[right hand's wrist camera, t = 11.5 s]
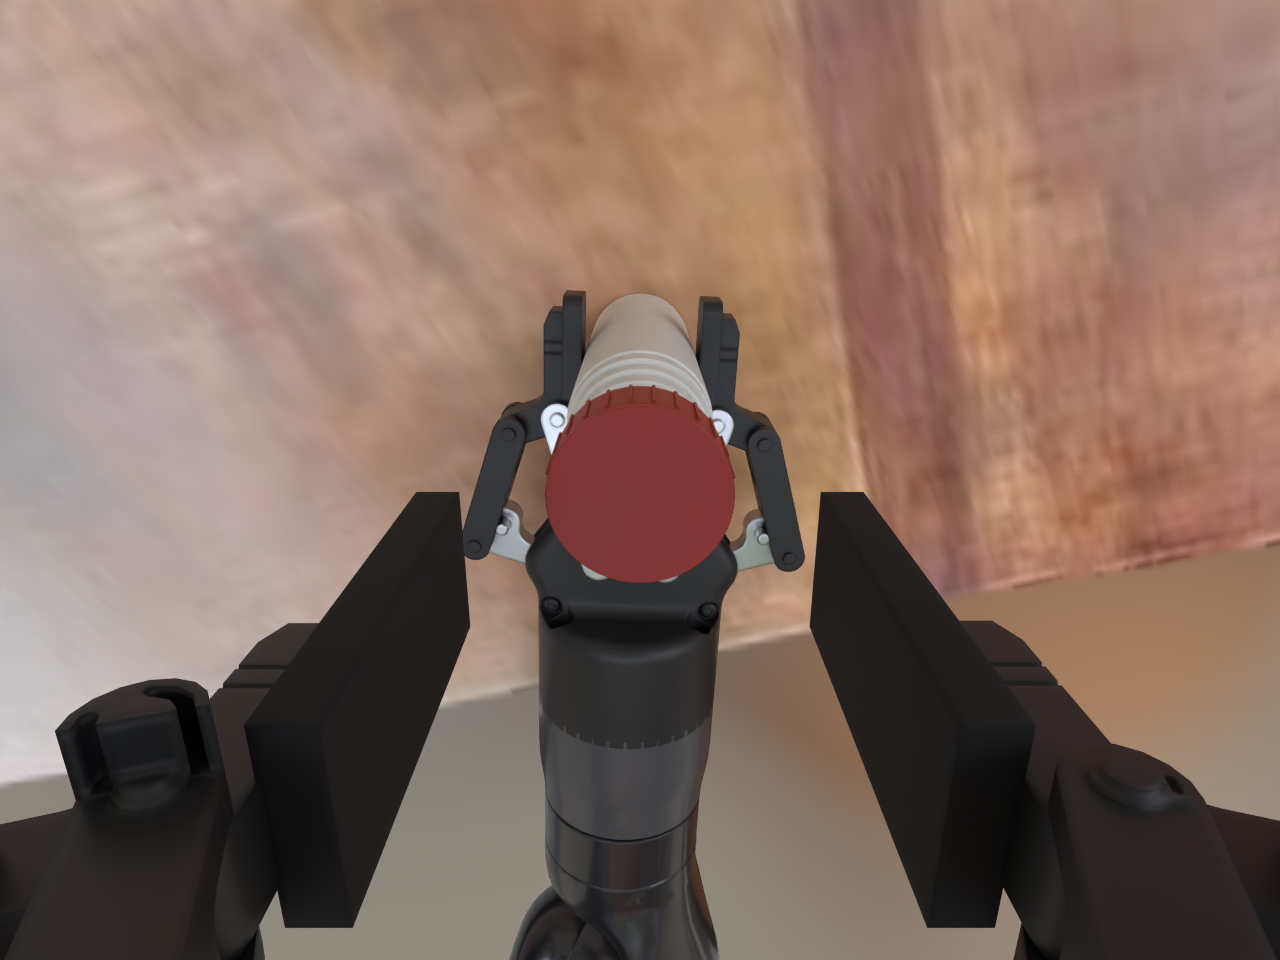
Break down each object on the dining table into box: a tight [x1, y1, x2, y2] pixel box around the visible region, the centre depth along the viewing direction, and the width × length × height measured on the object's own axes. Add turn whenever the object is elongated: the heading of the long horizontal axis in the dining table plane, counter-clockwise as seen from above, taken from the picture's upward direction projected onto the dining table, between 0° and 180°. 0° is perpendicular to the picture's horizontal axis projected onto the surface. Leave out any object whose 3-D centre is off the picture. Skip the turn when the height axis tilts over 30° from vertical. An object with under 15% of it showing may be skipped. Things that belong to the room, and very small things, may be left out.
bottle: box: [567, 293, 713, 424], centre depth 27 cm, size 4×4×19 cm
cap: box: [545, 384, 735, 583], centre depth 18 cm, size 4×4×2 cm
